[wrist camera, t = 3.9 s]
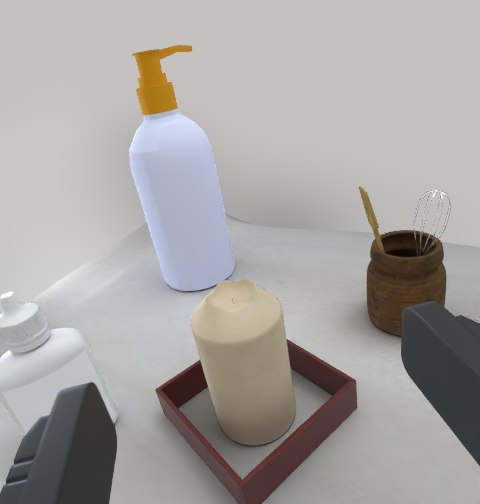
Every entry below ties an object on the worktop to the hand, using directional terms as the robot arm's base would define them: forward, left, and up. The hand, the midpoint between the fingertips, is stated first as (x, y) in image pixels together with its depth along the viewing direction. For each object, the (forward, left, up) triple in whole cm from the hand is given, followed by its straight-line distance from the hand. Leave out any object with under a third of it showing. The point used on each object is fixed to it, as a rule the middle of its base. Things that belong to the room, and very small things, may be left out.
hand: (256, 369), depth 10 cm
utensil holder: (-21, -8, -15) cm, 27 cm away
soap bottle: (-15, -30, -15) cm, 36 cm away
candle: (-6, -10, -15) cm, 19 cm away
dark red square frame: (-6, -10, -15) cm, 19 cm away
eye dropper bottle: (+4, -18, -15) cm, 24 cm away
